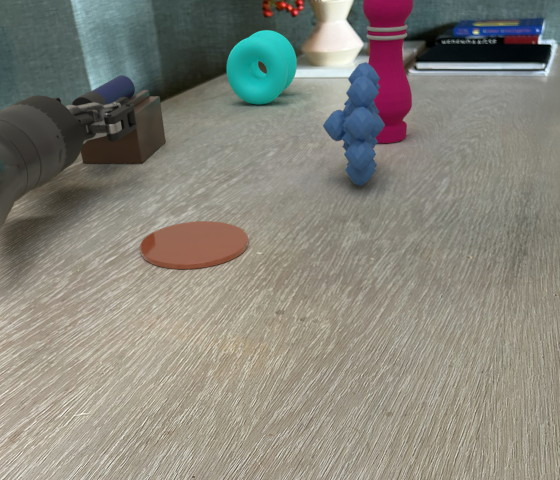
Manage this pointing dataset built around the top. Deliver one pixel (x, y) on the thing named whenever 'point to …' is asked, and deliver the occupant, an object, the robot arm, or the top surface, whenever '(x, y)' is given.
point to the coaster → (194, 245)
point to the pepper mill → (389, 64)
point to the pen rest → (131, 136)
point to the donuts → (250, 78)
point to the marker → (107, 93)
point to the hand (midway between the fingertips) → (92, 106)
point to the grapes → (358, 124)
